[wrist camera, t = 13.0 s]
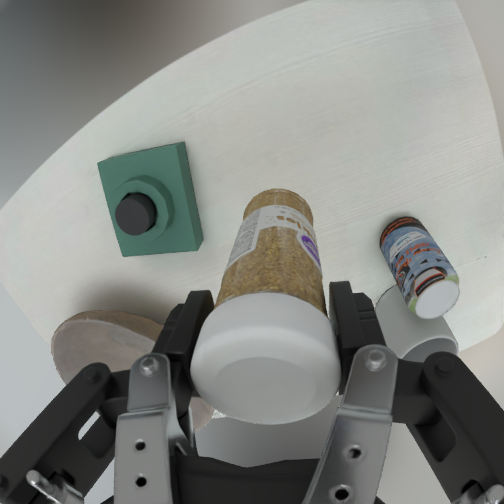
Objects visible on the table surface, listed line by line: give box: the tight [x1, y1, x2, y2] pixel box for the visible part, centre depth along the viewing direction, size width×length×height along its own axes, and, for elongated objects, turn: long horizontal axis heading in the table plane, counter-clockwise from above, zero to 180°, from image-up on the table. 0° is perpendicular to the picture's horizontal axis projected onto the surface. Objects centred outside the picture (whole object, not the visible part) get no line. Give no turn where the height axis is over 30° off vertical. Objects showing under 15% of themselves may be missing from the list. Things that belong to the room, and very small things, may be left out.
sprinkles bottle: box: [190, 189, 342, 424], centre depth 14 cm, size 5×5×13 cm
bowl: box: [51, 310, 214, 433], centre depth 43 cm, size 26×26×10 cm
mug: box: [375, 285, 458, 362], centre depth 35 cm, size 12×8×11 cm
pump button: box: [115, 193, 156, 236], centre depth 31 cm, size 4×4×2 cm
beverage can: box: [380, 217, 460, 319], centre depth 30 cm, size 6×7×12 cm
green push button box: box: [97, 142, 204, 257], centre depth 34 cm, size 12×10×5 cm
